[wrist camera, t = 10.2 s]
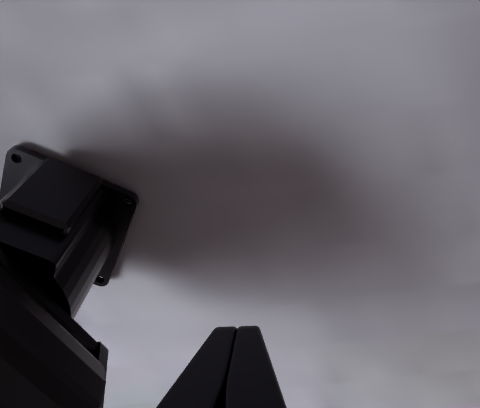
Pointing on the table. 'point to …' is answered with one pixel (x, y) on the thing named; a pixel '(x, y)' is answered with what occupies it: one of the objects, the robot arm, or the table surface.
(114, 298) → the table surface
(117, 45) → the table surface
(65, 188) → the robot arm
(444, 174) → the table surface
